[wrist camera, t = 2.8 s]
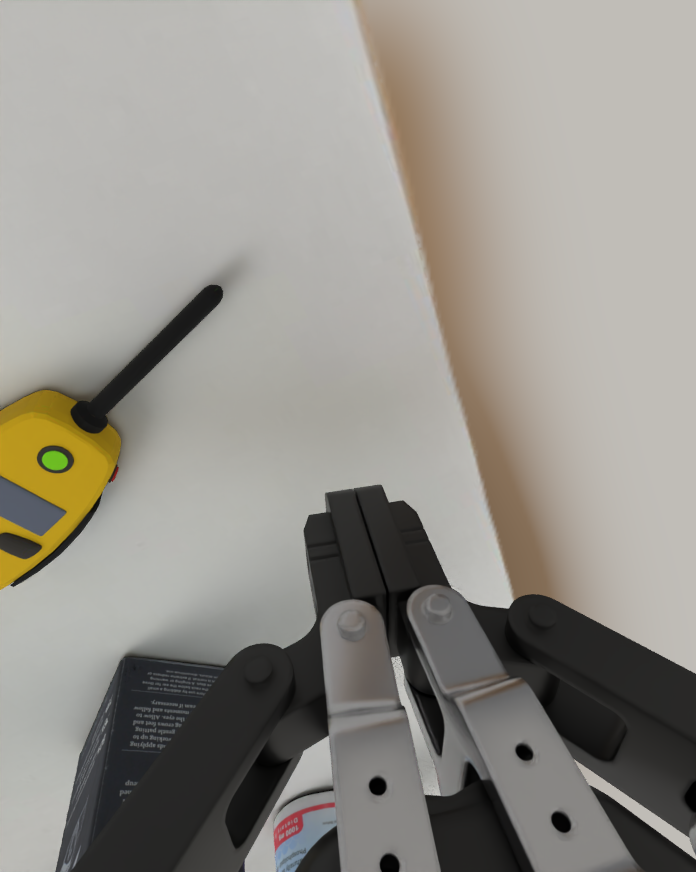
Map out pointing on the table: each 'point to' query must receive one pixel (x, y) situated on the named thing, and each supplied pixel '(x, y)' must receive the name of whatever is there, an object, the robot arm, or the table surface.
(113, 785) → the box
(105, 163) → the table surface
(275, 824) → the pill bottle
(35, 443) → the yellow walkie talkie
